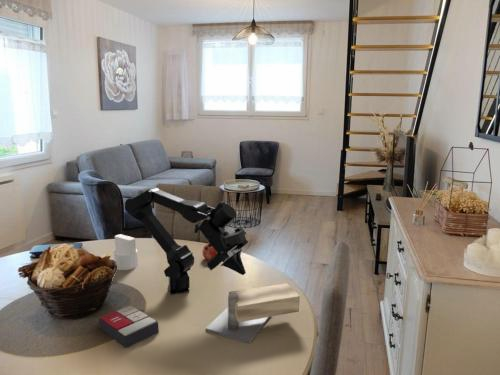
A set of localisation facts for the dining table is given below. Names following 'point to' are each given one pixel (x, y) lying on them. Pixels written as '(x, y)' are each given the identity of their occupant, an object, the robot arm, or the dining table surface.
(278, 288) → the beige wooden block
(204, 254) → the pomegranate
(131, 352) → the dining table surface
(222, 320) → the label board
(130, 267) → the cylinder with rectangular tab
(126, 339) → the red and grey box
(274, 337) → the dining table surface
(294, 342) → the dining table surface
